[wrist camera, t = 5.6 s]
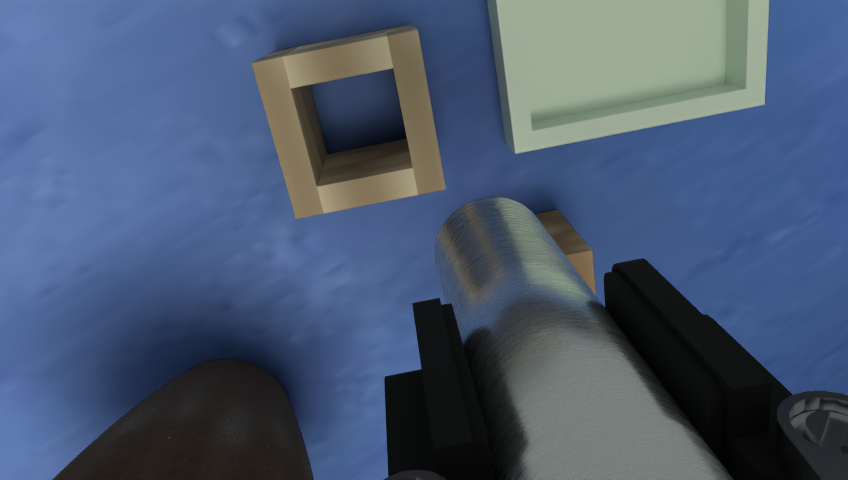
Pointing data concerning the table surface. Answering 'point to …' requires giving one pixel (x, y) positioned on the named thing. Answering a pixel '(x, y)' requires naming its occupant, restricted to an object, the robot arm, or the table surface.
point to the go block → (363, 167)
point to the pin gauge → (556, 361)
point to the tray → (622, 64)
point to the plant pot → (202, 432)
